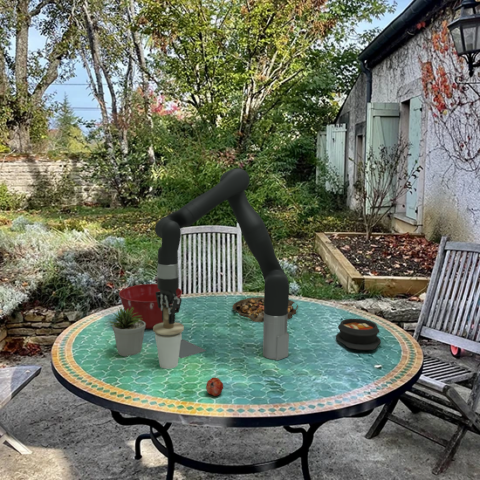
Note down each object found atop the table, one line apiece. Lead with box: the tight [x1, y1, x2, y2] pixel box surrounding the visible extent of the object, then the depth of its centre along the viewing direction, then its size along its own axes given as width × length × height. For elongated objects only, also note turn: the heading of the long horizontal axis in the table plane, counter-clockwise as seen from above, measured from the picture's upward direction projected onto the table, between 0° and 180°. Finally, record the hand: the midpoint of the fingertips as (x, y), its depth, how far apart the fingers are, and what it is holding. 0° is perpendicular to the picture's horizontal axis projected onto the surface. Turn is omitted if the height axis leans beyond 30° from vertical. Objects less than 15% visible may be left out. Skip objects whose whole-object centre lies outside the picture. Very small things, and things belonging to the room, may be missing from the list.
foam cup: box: [154, 332, 183, 370], centre depth 175 cm, size 10×9×13 cm
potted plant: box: [108, 307, 146, 357], centre depth 187 cm, size 13×14×20 cm
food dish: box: [232, 296, 299, 323], centre depth 243 cm, size 35×33×8 cm
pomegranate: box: [205, 376, 224, 397], centre depth 156 cm, size 6×6×8 cm
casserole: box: [335, 318, 382, 351], centre depth 203 cm, size 25×19×8 cm
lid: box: [152, 307, 185, 335], centre depth 173 cm, size 11×11×8 cm
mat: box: [179, 338, 207, 359], centre depth 192 cm, size 16×12×1 cm
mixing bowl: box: [118, 283, 183, 330], centre depth 221 cm, size 28×28×16 cm
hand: (168, 321), depth 173 cm, fingers closed on lid, 3 cm apart
